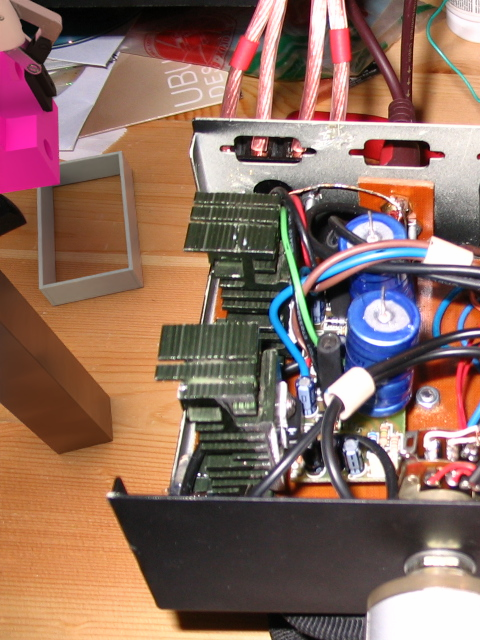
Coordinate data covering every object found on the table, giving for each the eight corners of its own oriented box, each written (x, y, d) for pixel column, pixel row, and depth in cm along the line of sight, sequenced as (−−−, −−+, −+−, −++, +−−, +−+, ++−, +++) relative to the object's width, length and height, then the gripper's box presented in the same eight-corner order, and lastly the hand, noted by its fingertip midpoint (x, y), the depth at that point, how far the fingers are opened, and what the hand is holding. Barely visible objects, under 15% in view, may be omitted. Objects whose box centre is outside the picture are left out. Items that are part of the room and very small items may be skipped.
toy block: (59, 184, 71) (19, 119, 65) (-15, 195, 70) (-63, 131, 64) (57, 76, 78) (20, 8, 72) (-11, 85, 77) (-54, 16, 70)
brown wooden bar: (57, 454, 73) (-130, 288, 51) (56, 409, 76) (-124, 231, 53) (113, 440, 74) (-48, 271, 52) (109, 396, 77) (-45, 216, 54)
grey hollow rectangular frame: (52, 306, 82) (38, 289, 79) (49, 185, 90) (36, 166, 87) (143, 286, 83) (132, 269, 81) (131, 169, 92) (121, 150, 89)
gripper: (11, -132, 59) (104, 67, 75) (-248, -107, 56) (-94, 96, 72) (11, -76, 56) (109, 120, 72) (-264, -46, 53) (-99, 153, 68)
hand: (7, 106), depth 71 cm, fingers closed on toy block, 6 cm apart
